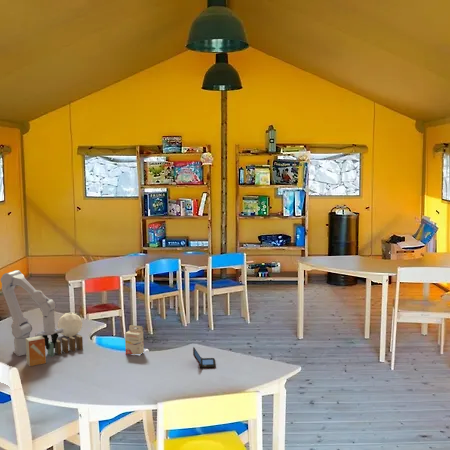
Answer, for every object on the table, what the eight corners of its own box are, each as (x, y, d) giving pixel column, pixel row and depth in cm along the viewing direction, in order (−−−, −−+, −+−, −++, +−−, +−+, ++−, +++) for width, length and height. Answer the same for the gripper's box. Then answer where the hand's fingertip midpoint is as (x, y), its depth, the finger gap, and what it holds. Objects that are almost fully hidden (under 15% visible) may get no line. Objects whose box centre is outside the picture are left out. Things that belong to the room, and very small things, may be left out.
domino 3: (65, 353, 300) (65, 340, 299) (62, 350, 303) (61, 338, 303) (68, 352, 300) (68, 339, 300) (65, 350, 304) (64, 337, 304)
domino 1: (51, 356, 295) (50, 343, 294) (47, 354, 299) (46, 341, 298) (54, 356, 296) (53, 343, 295) (50, 353, 300) (49, 340, 299)
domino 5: (80, 350, 304) (79, 337, 304) (76, 347, 308) (75, 335, 307) (82, 349, 305) (82, 336, 305) (79, 347, 309) (78, 334, 308)
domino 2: (58, 355, 297) (57, 342, 296) (54, 352, 301) (54, 339, 300) (61, 354, 298) (60, 341, 297) (57, 351, 302) (57, 339, 301)
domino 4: (73, 351, 302) (72, 339, 301) (69, 349, 306) (68, 336, 305) (75, 351, 303) (75, 338, 302) (72, 348, 307) (71, 336, 306)
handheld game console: (215, 368, 275) (215, 354, 274) (193, 369, 274) (193, 354, 273) (214, 359, 287) (214, 345, 286) (193, 360, 286) (193, 346, 286)
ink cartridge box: (125, 354, 296) (124, 327, 294) (129, 351, 301) (128, 324, 299) (139, 356, 293) (138, 328, 292) (144, 353, 298) (143, 326, 296)
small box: (29, 366, 281) (28, 341, 279) (26, 363, 286) (25, 338, 284) (46, 363, 285) (45, 338, 284) (42, 359, 290) (41, 335, 289)
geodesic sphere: (76, 319, 342) (64, 304, 334) (92, 323, 334) (80, 307, 325) (61, 339, 333) (48, 324, 325) (77, 343, 325) (64, 328, 317)
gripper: (37, 327, 288) (39, 353, 289) (65, 322, 296) (66, 347, 298) (33, 324, 293) (34, 349, 295) (60, 319, 302) (61, 344, 304)
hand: (50, 348), depth 297 cm, fingers open, 3 cm apart
